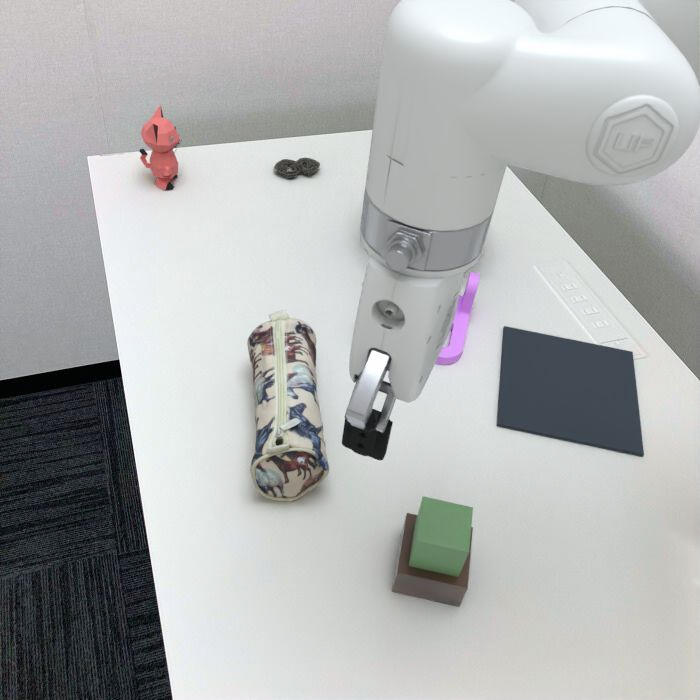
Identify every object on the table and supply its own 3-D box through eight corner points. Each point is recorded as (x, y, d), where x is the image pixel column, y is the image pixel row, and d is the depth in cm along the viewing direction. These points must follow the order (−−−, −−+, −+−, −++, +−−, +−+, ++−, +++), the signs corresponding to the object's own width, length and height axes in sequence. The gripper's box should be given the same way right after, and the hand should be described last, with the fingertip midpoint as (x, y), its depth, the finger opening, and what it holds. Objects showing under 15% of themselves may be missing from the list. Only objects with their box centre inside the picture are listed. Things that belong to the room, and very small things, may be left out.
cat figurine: (181, 195, 118) (175, 127, 110) (138, 191, 118) (128, 123, 109) (188, 171, 123) (183, 104, 115) (147, 167, 123) (138, 100, 114)
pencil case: (327, 503, 81) (334, 451, 74) (250, 506, 80) (249, 453, 73) (313, 358, 96) (317, 303, 89) (247, 359, 95) (246, 304, 88)
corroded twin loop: (323, 176, 126) (324, 171, 125) (278, 181, 123) (278, 175, 123) (315, 160, 129) (315, 155, 128) (270, 165, 127) (270, 159, 126)
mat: (631, 354, 102) (632, 351, 102) (642, 456, 90) (644, 454, 90) (503, 328, 104) (504, 325, 103) (496, 426, 91) (497, 423, 91)
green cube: (462, 533, 76) (473, 507, 72) (458, 577, 72) (469, 552, 69) (414, 522, 76) (422, 496, 72) (408, 566, 73) (416, 540, 69)
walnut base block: (465, 546, 79) (473, 526, 76) (459, 607, 74) (467, 589, 71) (401, 532, 80) (406, 512, 77) (391, 591, 75) (396, 573, 72)
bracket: (433, 297, 107) (441, 259, 102) (470, 305, 106) (481, 268, 101) (417, 359, 98) (425, 321, 93) (458, 368, 97) (469, 331, 92)
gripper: (441, 330, 37) (394, 512, 49) (519, 167, 49) (465, 347, 61) (305, 283, 38) (292, 471, 51) (412, 136, 50) (381, 317, 62)
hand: (386, 403), depth 56 cm, fingers open, 9 cm apart
